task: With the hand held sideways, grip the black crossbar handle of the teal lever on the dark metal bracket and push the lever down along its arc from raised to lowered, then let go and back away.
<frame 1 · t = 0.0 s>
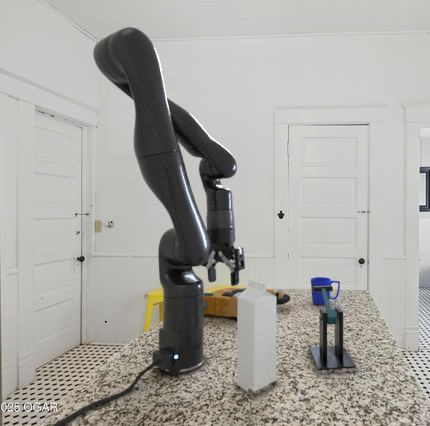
hand: (223, 283, 87), 17 cm above the countertop, tool pointing down, fingers open, 8 cm apart
device: (246, 311, 117), on the countertop
lever: (326, 302, 82), point 13 cm above the countertop, hinge at 25.0°
milk: (256, 385, 66), on the countertop
mug: (325, 303, 128), on the countertop
bracket: (331, 361, 77), on the countertop
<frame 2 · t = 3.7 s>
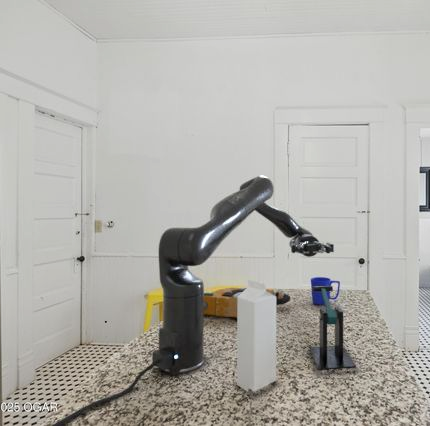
hand: (315, 250, 98), 25 cm above the countertop, tool horizontal, fingers open, 8 cm apart
nothing on the countertop moved.
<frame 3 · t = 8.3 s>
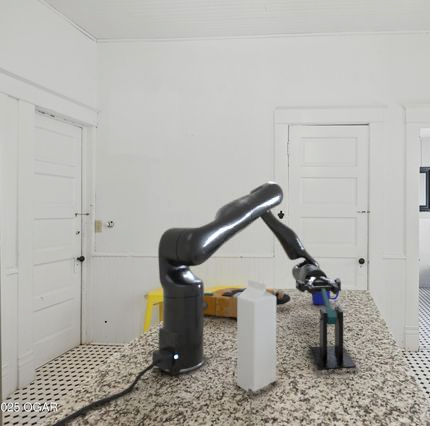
hand: (324, 290, 85), 16 cm above the countertop, tool horizontal, fingers closed on lever, 5 cm apart
lever: (326, 302, 82), point 13 cm above the countertop, hinge at 25.0°, touching gripper
everything else where it was.
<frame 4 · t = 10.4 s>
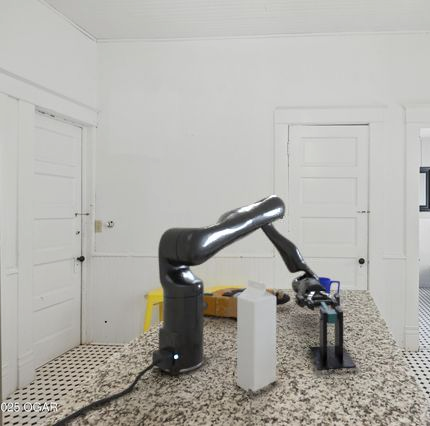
hand: (323, 306, 85), 11 cm above the countertop, tool horizontal, fingers closed on lever, 5 cm apart
lever: (326, 309, 82), point 11 cm above the countertop, hinge at 1.7°, touching gripper
everything else where it was.
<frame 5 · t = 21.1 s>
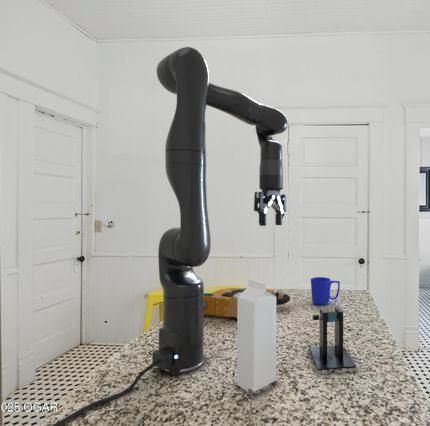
hand: (271, 225, 99), 33 cm above the countertop, tool pointing down, fingers open, 8 cm apart
lever: (326, 316, 82), point 9 cm above the countertop, hinge at -18.3°
everything else where it was.
at the end: lever at -18° (first picture: +25°); the gripper is holding nothing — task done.
